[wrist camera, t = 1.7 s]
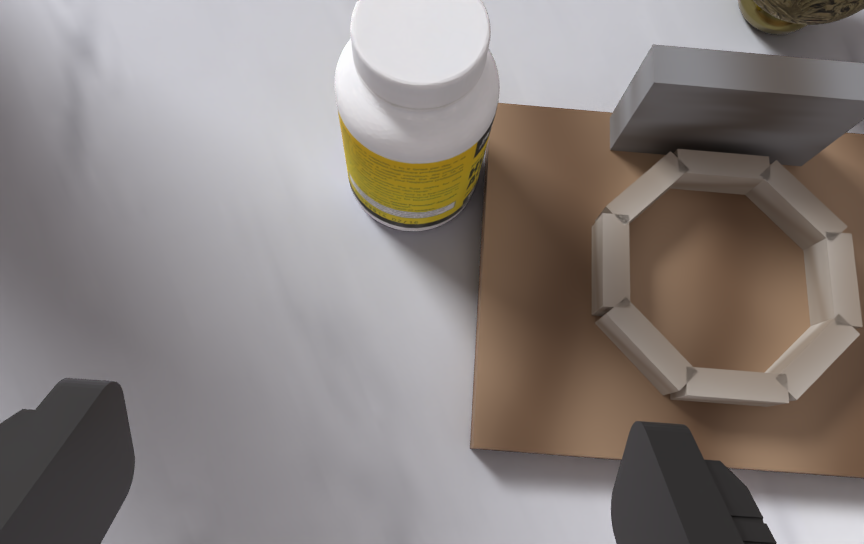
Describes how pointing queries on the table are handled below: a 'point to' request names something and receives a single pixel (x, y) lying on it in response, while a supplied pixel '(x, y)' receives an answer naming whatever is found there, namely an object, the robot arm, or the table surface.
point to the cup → (795, 13)
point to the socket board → (680, 266)
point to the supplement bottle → (416, 107)
